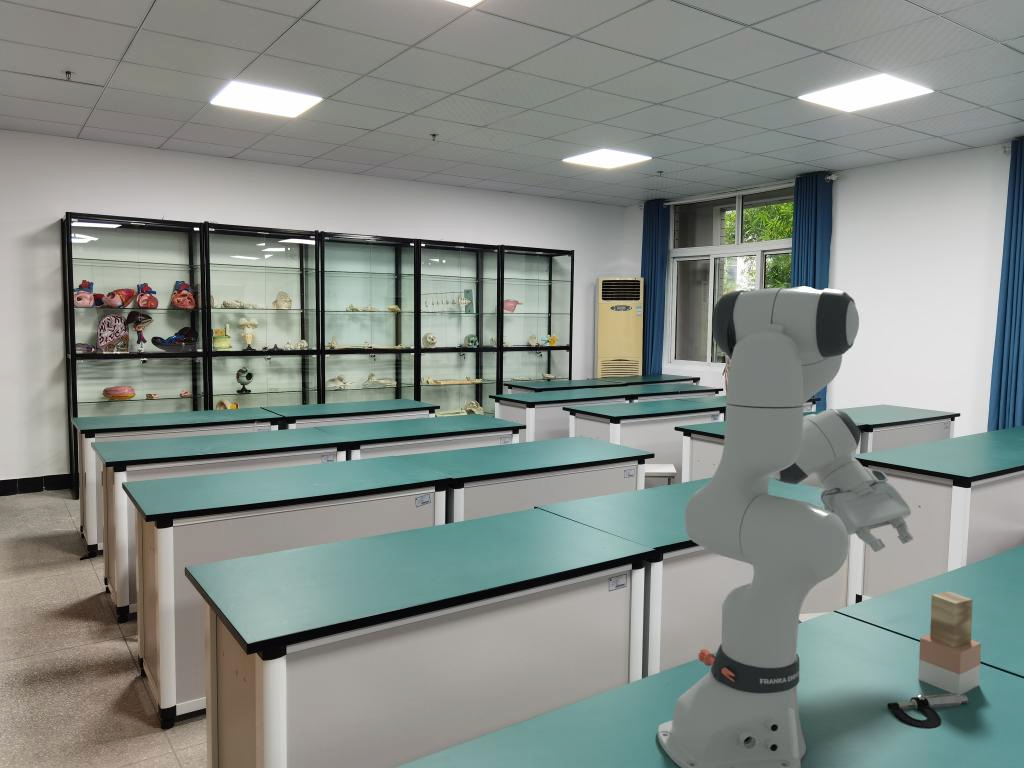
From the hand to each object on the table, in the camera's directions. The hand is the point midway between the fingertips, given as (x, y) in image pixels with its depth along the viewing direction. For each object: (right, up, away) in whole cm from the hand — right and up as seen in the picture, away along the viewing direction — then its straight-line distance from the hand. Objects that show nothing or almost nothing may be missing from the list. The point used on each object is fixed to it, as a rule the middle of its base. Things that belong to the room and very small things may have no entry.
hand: (894, 545), depth 137 cm
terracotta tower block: (+6, -19, -7) cm, 22 cm away
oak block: (+6, -15, -8) cm, 18 cm away
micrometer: (-2, -25, -18) cm, 30 cm away
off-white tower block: (+6, -23, -7) cm, 25 cm away
